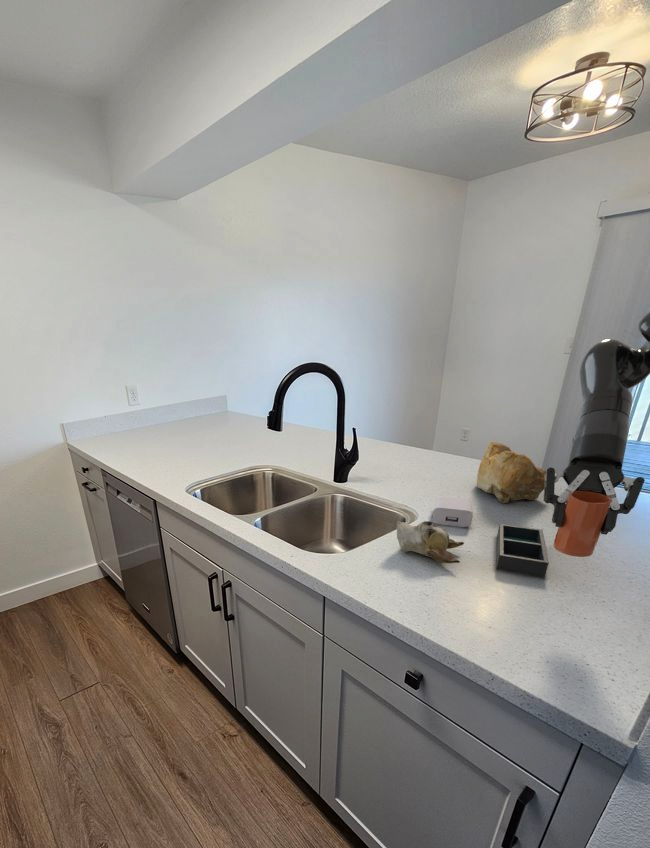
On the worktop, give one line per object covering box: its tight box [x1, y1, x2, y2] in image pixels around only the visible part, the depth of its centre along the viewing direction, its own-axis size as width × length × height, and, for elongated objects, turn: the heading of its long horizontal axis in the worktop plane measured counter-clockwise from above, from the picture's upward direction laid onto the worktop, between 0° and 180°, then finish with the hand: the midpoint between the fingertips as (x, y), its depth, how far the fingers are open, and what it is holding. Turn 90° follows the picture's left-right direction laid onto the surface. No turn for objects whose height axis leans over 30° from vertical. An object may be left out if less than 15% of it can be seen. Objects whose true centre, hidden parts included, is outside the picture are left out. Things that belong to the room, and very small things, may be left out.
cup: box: [553, 491, 612, 558], centre depth 75 cm, size 6×6×10 cm
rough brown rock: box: [476, 441, 547, 504], centre depth 127 cm, size 23×17×15 cm
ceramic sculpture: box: [396, 520, 465, 564], centre depth 100 cm, size 11×9×15 cm
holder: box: [495, 523, 550, 579], centre depth 99 cm, size 9×17×4 cm, turn 152°
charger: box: [431, 495, 474, 528], centre depth 120 cm, size 5×9×15 cm
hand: (581, 528), depth 74 cm, fingers closed on cup, 6 cm apart
